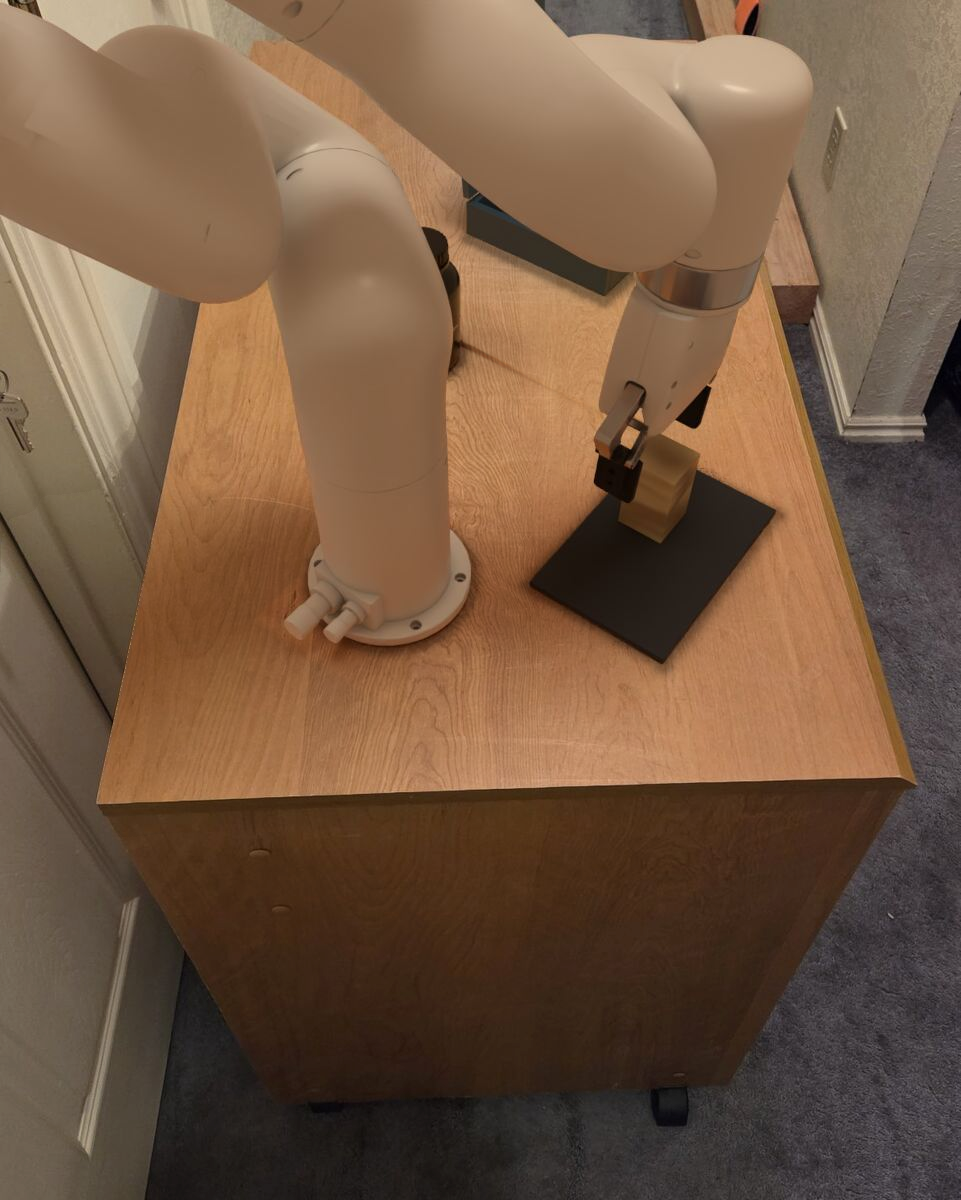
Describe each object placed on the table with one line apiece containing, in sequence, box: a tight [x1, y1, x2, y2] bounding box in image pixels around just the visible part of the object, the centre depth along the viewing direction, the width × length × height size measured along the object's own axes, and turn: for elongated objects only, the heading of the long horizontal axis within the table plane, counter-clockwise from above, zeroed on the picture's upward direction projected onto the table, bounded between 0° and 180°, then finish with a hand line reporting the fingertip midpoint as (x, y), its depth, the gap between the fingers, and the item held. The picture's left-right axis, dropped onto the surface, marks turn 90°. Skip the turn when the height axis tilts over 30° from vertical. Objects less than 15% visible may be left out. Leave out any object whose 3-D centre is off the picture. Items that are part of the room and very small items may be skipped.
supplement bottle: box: [421, 226, 461, 371], centre depth 91 cm, size 7×7×12 cm
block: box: [618, 433, 701, 543], centre depth 81 cm, size 4×4×7 cm
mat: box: [529, 468, 777, 664], centre depth 83 cm, size 18×12×1 cm, turn 144°
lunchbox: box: [465, 192, 630, 297], centre depth 105 cm, size 17×14×4 cm
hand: (647, 454), depth 78 cm, fingers open, 9 cm apart
